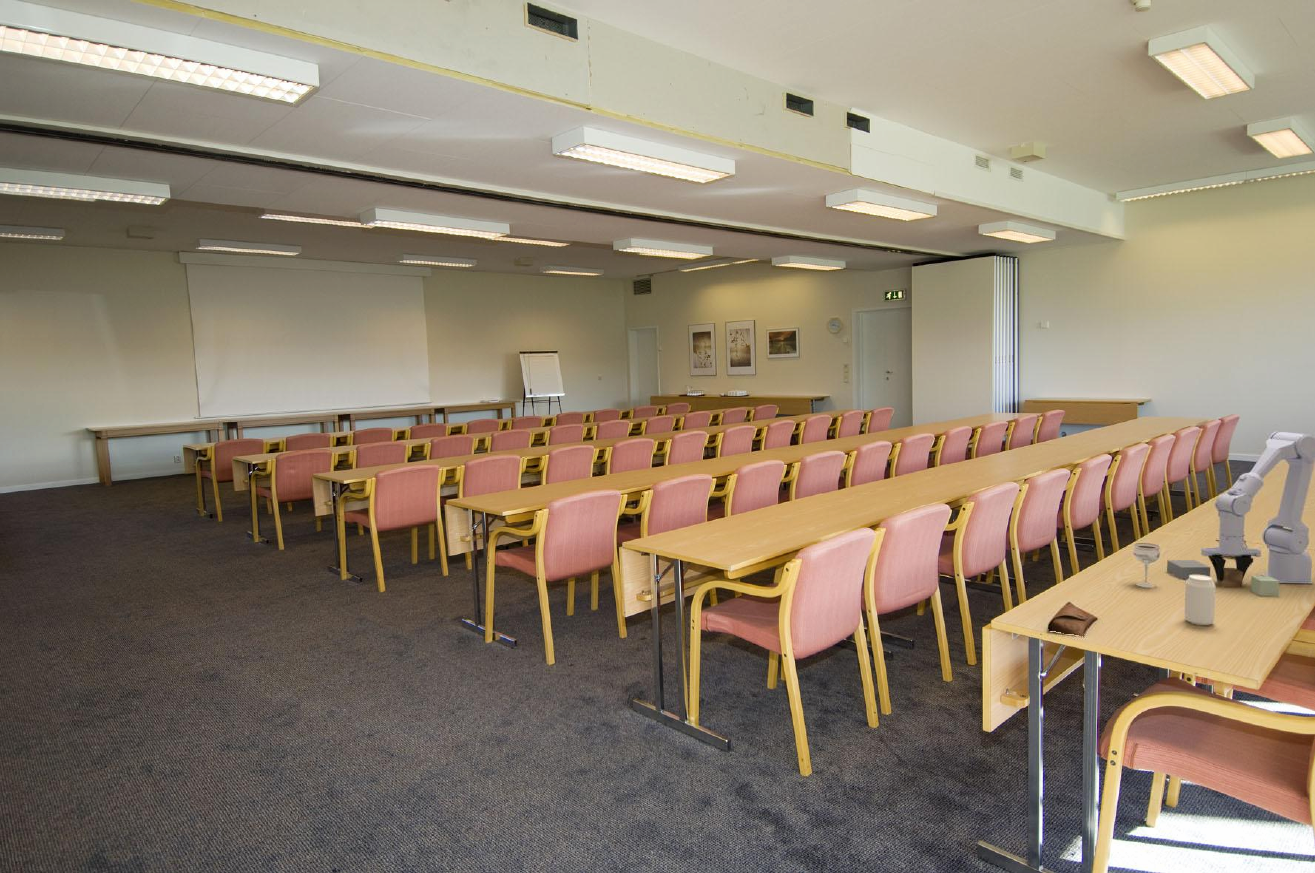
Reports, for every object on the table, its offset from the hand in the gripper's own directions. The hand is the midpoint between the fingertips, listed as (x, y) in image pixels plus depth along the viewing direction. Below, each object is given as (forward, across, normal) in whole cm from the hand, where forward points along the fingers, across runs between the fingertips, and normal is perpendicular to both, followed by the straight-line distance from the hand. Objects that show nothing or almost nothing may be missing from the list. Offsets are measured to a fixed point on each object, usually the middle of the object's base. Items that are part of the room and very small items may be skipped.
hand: (1229, 579), depth 223 cm
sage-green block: (+2, -5, +8) cm, 10 cm away
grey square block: (+2, +7, -9) cm, 12 cm away
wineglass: (+2, +23, +2) cm, 23 cm away
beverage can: (+2, +23, +34) cm, 41 cm away
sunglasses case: (+2, +54, +38) cm, 66 cm away
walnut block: (+1, 0, 0) cm, 1 cm away
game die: (+2, -16, -32) cm, 36 cm away
